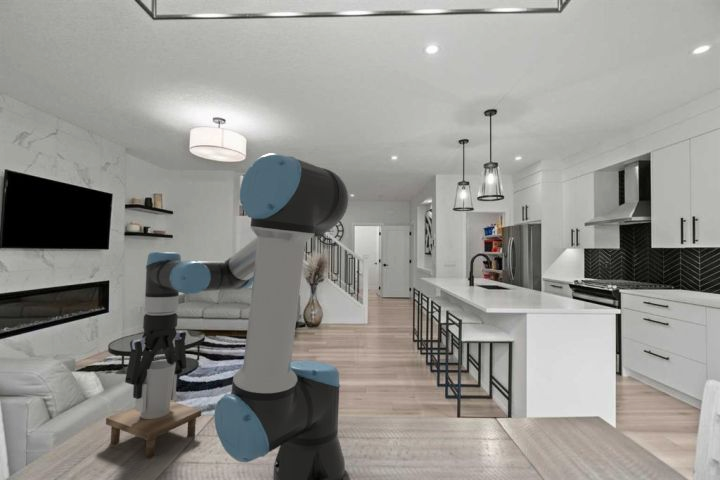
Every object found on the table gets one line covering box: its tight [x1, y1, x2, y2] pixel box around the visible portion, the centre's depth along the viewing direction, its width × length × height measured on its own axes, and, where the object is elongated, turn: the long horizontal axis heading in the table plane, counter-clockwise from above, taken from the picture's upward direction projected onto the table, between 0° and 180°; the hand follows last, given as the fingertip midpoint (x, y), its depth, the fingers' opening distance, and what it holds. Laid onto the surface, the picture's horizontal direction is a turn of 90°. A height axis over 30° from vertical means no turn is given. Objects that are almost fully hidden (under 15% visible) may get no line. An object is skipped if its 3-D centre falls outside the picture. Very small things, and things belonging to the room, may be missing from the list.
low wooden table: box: [105, 400, 202, 459], centre depth 89 cm, size 16×14×6 cm
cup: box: [141, 359, 176, 419], centre depth 89 cm, size 8×8×12 cm
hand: (156, 404), depth 89 cm, fingers closed on cup, 7 cm apart
